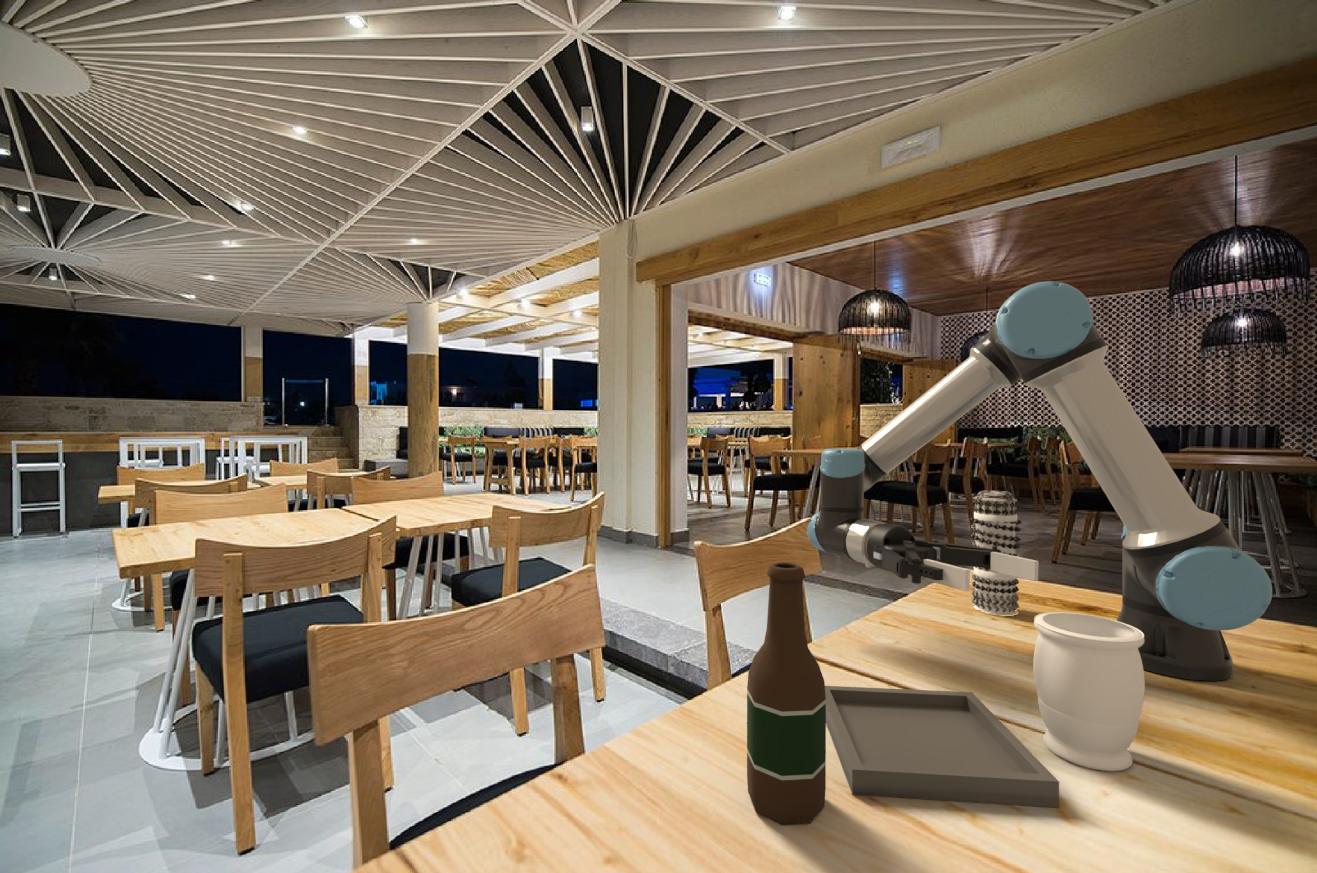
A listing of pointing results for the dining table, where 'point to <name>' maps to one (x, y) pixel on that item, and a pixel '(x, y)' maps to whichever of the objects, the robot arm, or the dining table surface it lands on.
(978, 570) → the decorative candle
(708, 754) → the dining table surface
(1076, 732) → the jar
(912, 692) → the tray
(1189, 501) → the robot arm
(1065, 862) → the dining table surface
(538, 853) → the dining table surface
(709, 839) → the dining table surface
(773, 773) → the beer bottle
